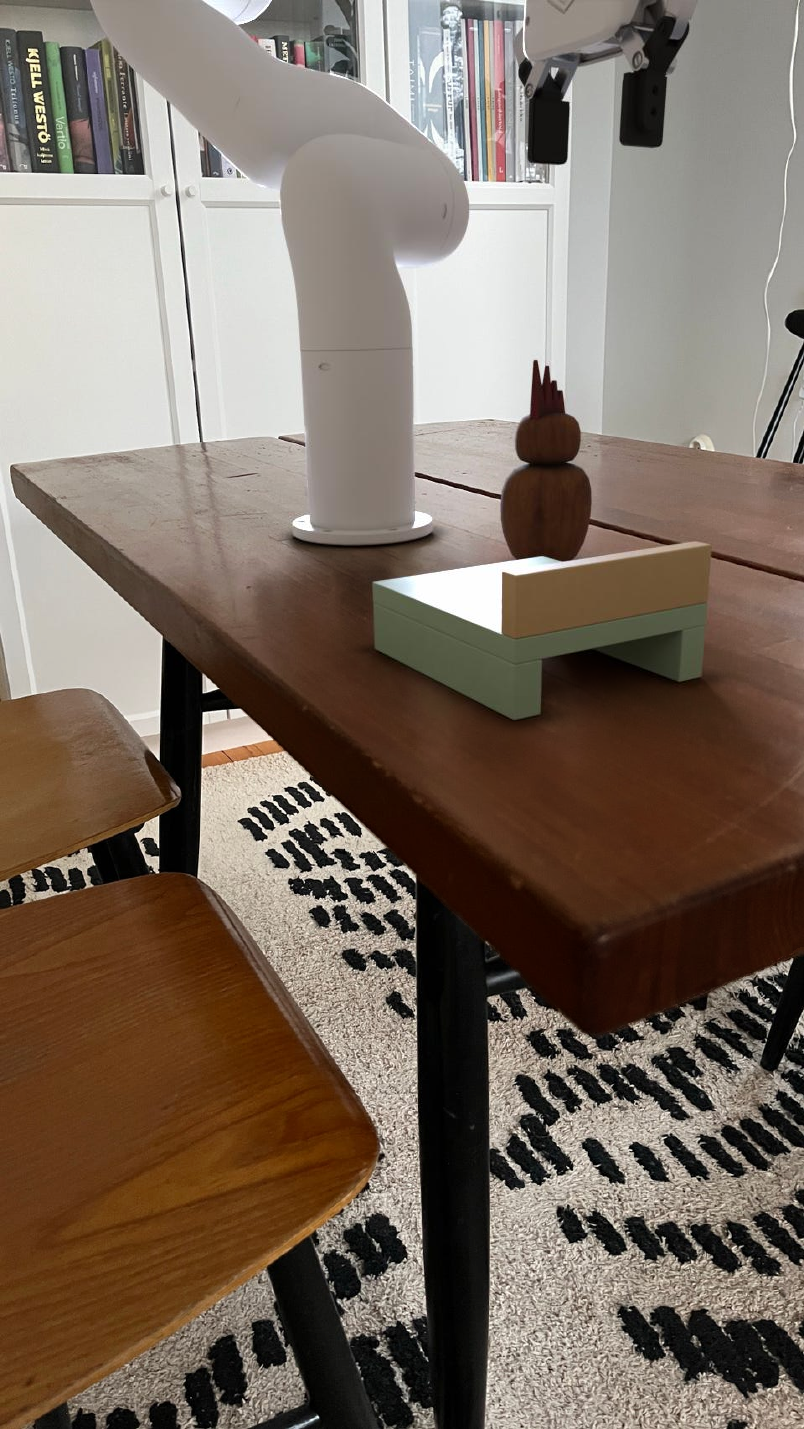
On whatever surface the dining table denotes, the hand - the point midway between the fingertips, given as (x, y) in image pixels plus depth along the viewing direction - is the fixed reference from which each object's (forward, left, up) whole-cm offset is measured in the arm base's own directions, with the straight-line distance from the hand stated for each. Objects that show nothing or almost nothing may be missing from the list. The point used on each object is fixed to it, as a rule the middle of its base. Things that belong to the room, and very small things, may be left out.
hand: (591, 155), depth 72 cm
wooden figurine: (-1, -2, -28) cm, 28 cm away
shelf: (+19, -18, -28) cm, 38 cm away
